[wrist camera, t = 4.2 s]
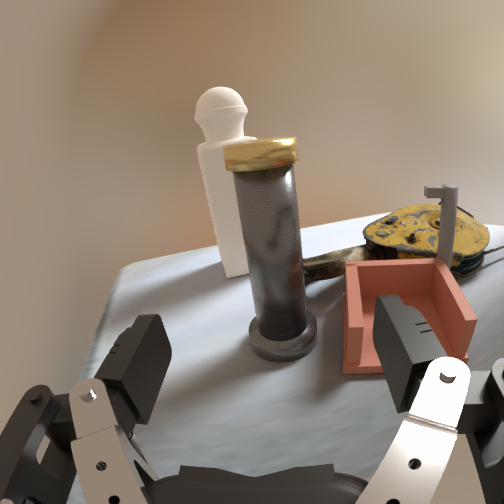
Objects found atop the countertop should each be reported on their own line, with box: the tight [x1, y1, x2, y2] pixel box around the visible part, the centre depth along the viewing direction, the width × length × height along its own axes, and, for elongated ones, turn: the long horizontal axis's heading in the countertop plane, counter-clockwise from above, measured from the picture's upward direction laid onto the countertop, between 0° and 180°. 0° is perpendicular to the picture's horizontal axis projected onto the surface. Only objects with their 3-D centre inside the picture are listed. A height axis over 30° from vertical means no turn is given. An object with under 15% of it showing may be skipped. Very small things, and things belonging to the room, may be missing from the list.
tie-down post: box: [222, 137, 317, 362], centre depth 22 cm, size 6×6×16 cm
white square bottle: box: [195, 87, 257, 278], centre depth 35 cm, size 6×6×22 cm
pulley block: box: [303, 202, 504, 282], centre depth 33 cm, size 14×6×30 cm
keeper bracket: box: [343, 184, 477, 374], centre depth 22 cm, size 11×11×11 cm
